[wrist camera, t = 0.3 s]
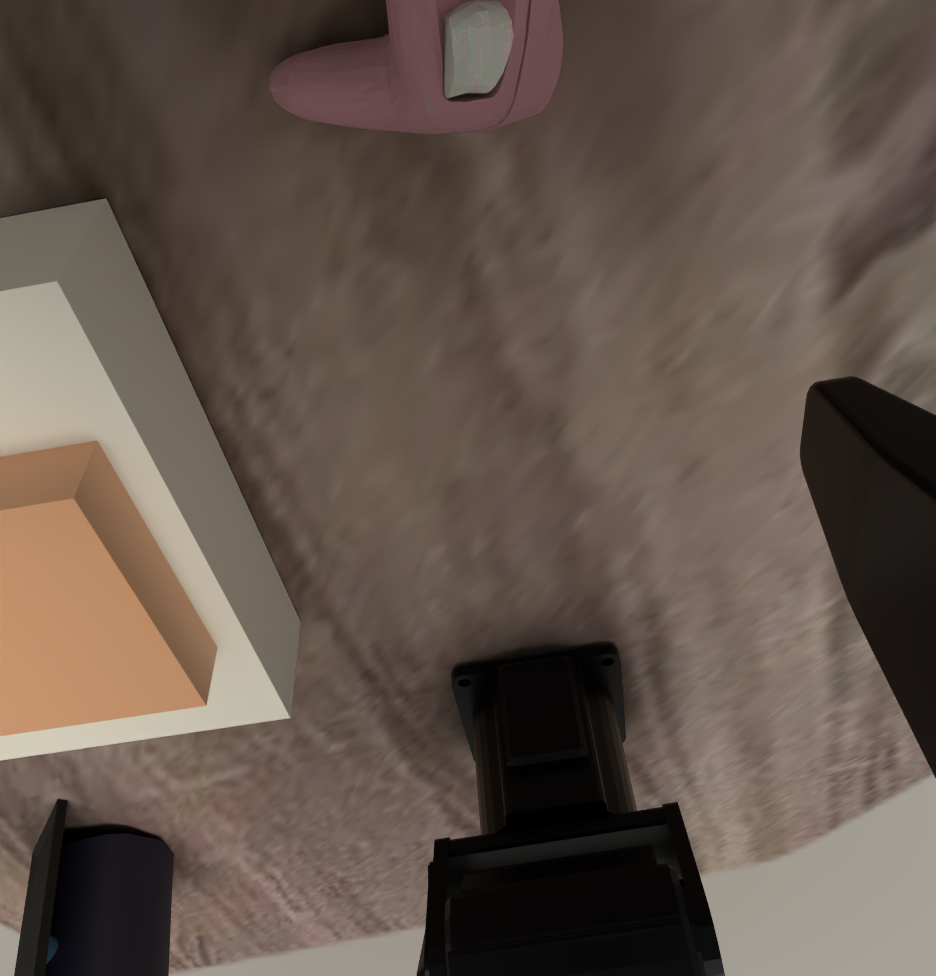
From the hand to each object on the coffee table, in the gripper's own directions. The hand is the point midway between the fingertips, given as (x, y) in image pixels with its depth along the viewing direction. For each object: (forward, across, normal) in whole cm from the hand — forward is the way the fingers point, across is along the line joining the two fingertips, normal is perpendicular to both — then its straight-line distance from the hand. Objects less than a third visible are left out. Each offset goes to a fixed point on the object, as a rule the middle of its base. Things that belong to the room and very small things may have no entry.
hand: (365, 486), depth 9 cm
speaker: (+15, +20, +31) cm, 40 cm away
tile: (+10, +11, +9) cm, 18 cm away
